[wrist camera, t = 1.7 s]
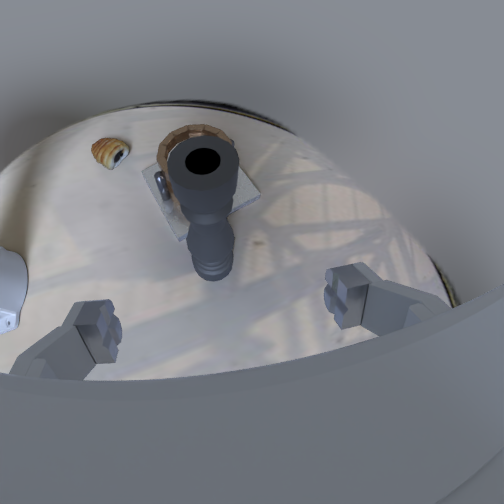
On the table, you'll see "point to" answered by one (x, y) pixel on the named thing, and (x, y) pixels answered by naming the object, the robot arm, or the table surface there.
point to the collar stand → (163, 188)
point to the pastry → (109, 152)
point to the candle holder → (206, 200)
